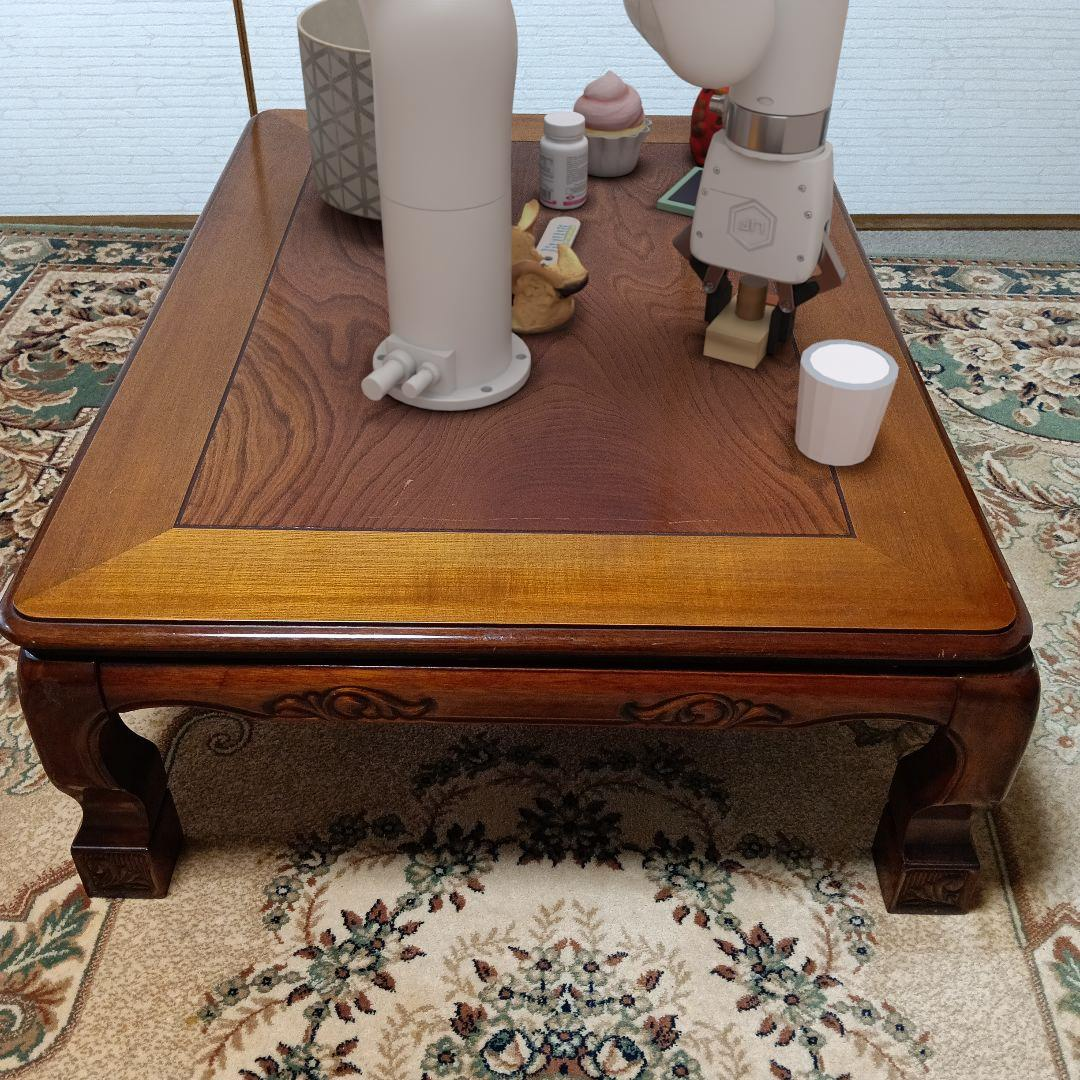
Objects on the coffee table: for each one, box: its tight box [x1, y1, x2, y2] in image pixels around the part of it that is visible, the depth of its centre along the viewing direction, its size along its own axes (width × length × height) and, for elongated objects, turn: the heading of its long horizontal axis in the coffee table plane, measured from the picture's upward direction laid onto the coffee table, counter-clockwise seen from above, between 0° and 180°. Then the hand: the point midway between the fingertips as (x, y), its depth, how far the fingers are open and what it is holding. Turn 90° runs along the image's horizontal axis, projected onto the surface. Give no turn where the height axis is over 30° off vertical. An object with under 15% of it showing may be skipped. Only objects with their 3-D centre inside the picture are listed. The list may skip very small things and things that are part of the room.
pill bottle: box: [538, 110, 588, 210], centre depth 119 cm, size 5×5×8 cm
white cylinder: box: [794, 339, 900, 467], centre depth 87 cm, size 7×7×7 cm
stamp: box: [702, 274, 779, 370], centre depth 99 cm, size 8×4×6 cm, turn 152°
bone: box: [511, 198, 590, 335], centre depth 102 cm, size 12×10×8 cm
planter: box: [296, 0, 382, 223], centre depth 114 cm, size 19×19×18 cm
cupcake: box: [572, 69, 653, 178], centre depth 125 cm, size 9×9×10 cm
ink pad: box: [656, 166, 704, 218], centre depth 122 cm, size 10×8×1 cm
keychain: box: [535, 216, 581, 266], centre depth 114 cm, size 10×1×3 cm
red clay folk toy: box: [688, 87, 729, 167], centre depth 126 cm, size 8×7×15 cm
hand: (746, 336), depth 101 cm, fingers closed on stamp, 4 cm apart
